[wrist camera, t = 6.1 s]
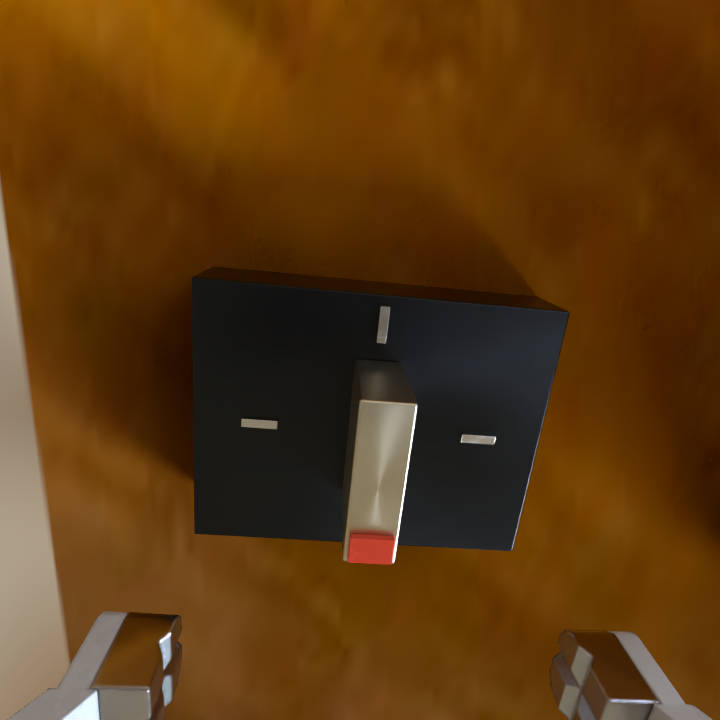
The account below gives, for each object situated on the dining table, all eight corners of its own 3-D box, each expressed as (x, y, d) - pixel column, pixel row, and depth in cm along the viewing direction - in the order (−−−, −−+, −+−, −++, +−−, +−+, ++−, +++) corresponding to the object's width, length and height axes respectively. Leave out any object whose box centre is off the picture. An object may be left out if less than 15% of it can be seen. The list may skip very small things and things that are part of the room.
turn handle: (355, 358, 18) (360, 403, 14) (402, 362, 18) (419, 407, 14) (341, 493, 20) (342, 567, 16) (384, 496, 20) (395, 569, 16)
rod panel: (211, 493, 23) (193, 536, 20) (212, 266, 20) (189, 277, 17) (492, 510, 24) (513, 554, 21) (538, 296, 21) (572, 312, 18)
